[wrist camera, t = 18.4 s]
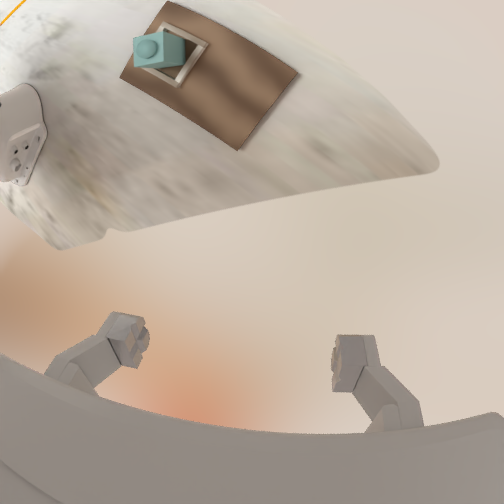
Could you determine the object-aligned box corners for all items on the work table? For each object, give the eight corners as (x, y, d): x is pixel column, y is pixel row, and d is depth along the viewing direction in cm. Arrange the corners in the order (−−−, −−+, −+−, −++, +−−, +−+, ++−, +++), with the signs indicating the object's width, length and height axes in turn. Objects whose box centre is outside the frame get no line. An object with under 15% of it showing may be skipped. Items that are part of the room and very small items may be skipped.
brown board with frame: (239, 148, 41) (235, 152, 39) (124, 77, 36) (115, 78, 34) (297, 73, 34) (297, 71, 32) (171, 2, 30) (164, -2, 27)
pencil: (54, -23, 24) (52, -24, 24) (-1, 28, 29) (-3, 28, 28) (54, -26, 24) (52, -26, 23) (-1, 25, 28) (-3, 26, 28)
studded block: (185, 64, 34) (160, 60, 27) (159, 68, 34) (130, 66, 27) (185, 39, 32) (160, 30, 25) (158, 43, 32) (130, 37, 25)
